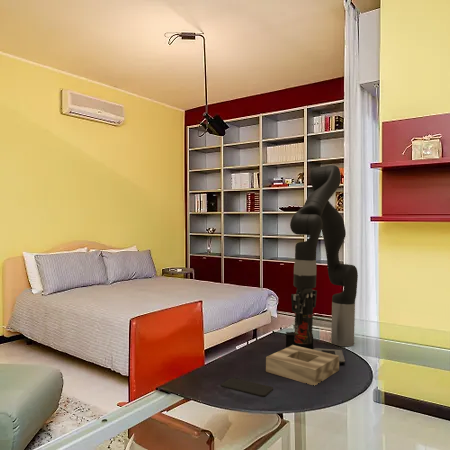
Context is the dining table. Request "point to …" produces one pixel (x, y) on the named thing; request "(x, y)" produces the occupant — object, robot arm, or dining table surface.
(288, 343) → the digital camera
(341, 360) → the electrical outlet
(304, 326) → the deodorant
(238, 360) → the dining table surface
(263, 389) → the phone
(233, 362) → the dining table surface
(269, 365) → the holder
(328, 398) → the dining table surface
